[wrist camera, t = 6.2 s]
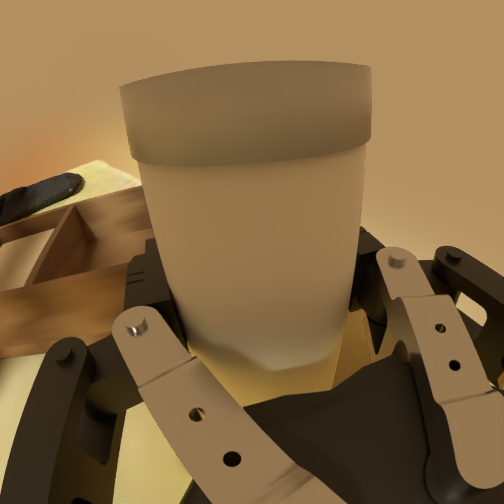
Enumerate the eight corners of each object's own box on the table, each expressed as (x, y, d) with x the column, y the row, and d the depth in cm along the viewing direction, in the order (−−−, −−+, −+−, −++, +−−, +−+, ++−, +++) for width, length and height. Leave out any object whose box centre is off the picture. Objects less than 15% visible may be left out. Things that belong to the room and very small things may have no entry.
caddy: (-31, 361, 14) (-65, 313, 12) (12, 269, 25) (-6, 228, 22) (206, 323, 18) (189, 254, 15) (186, 227, 29) (176, 177, 26)
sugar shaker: (228, 469, 10) (93, 89, 3) (204, 376, 15) (133, 86, 8) (345, 432, 11) (427, 74, 4) (302, 350, 16) (304, 67, 9)
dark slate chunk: (78, 203, 40) (70, 173, 37) (-30, 246, 33) (-41, 221, 30) (85, 176, 52) (80, 154, 49) (-5, 211, 45) (-12, 191, 42)
